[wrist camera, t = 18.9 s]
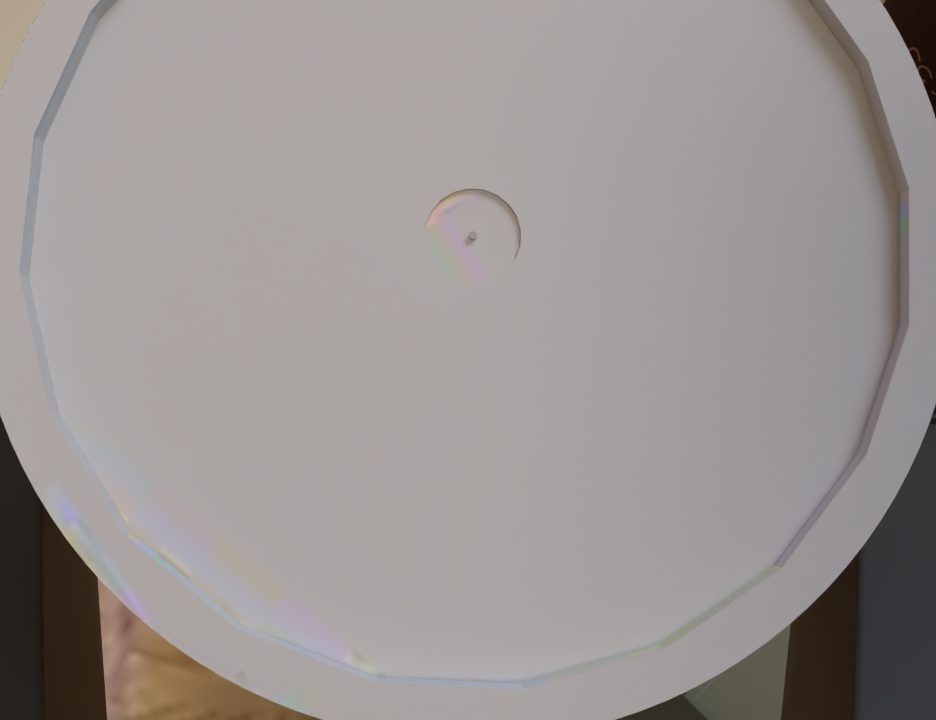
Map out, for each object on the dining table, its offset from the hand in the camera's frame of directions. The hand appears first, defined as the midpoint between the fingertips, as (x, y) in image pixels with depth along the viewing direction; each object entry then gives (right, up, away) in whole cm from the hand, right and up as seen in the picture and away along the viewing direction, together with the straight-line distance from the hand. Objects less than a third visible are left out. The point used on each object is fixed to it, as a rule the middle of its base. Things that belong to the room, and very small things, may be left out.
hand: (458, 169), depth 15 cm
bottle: (0, -4, +5) cm, 7 cm away
